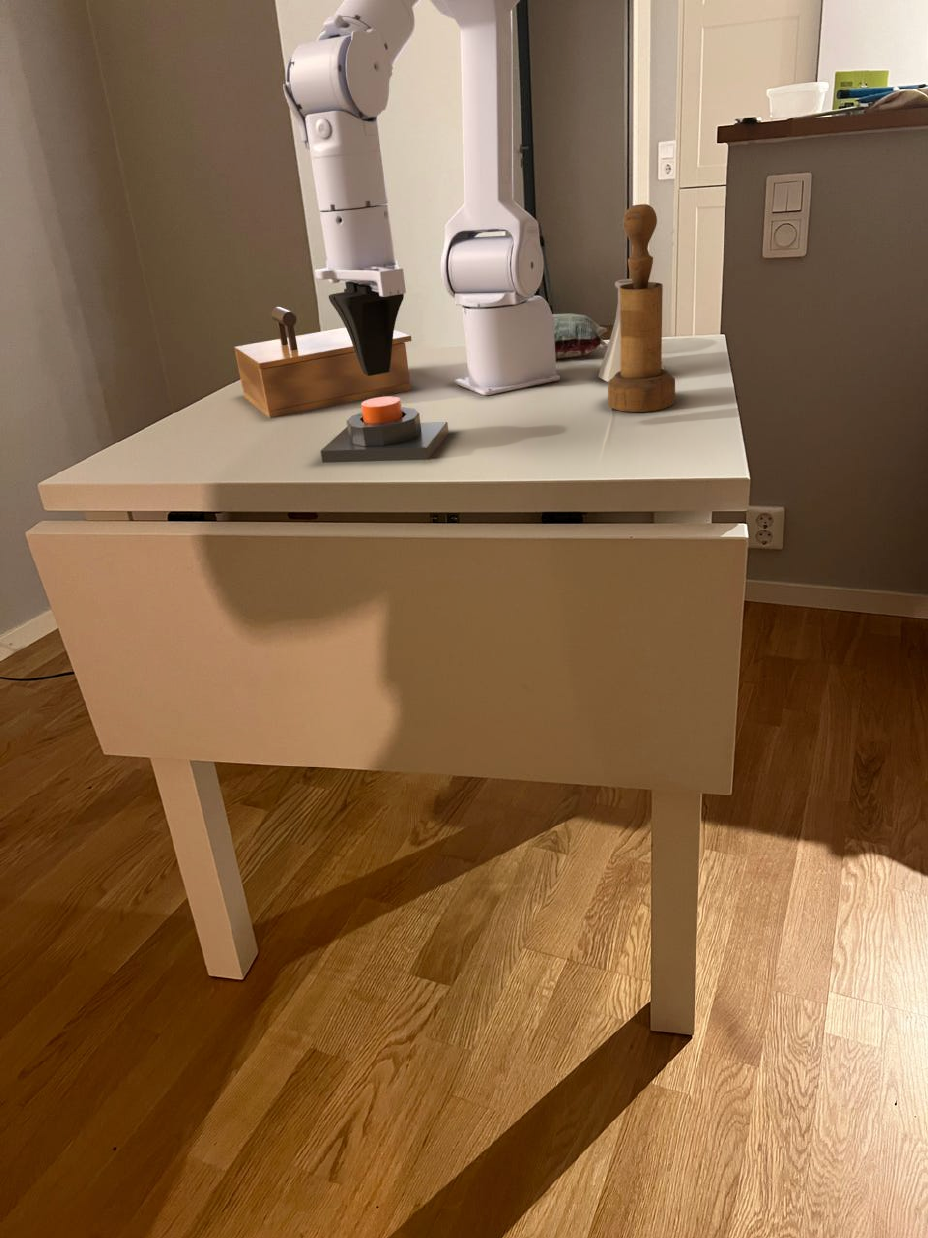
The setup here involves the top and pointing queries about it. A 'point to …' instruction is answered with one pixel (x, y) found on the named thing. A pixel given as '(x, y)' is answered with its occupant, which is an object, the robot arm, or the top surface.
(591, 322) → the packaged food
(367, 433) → the switch block
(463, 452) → the top surface
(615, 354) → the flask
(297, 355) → the lid
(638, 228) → the mortar and pestle
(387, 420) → the button
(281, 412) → the wooden box
